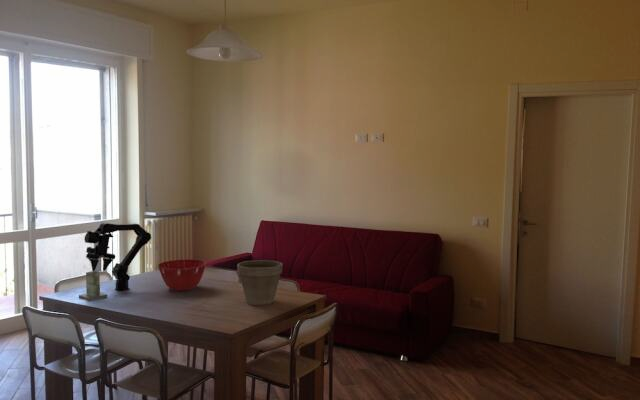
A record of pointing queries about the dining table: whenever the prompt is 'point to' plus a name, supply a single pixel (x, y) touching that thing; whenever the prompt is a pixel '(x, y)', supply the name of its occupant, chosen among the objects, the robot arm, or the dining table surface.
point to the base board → (89, 298)
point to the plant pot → (259, 280)
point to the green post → (93, 283)
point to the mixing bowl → (182, 273)
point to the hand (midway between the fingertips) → (98, 270)
